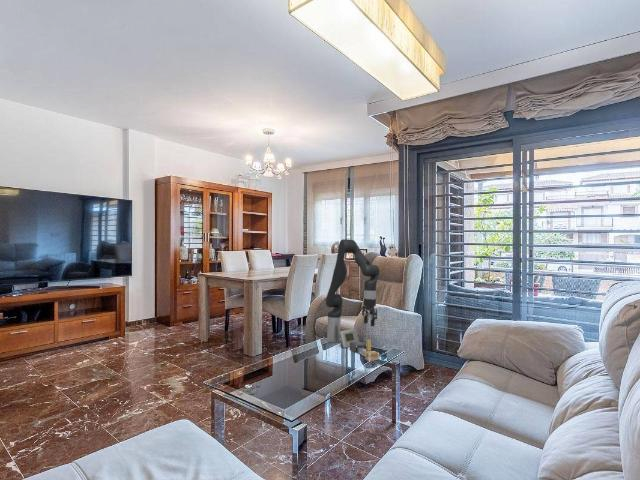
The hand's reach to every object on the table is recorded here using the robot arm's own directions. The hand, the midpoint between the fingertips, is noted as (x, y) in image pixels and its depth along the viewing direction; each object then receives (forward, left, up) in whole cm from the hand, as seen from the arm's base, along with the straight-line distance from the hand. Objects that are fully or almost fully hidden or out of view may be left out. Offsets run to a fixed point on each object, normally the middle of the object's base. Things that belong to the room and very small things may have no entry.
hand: (369, 324), depth 217 cm
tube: (-5, 0, -19) cm, 20 cm away
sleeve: (-15, 0, -20) cm, 25 cm away
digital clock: (-28, +1, -20) cm, 34 cm away
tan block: (+5, 0, -20) cm, 20 cm away
